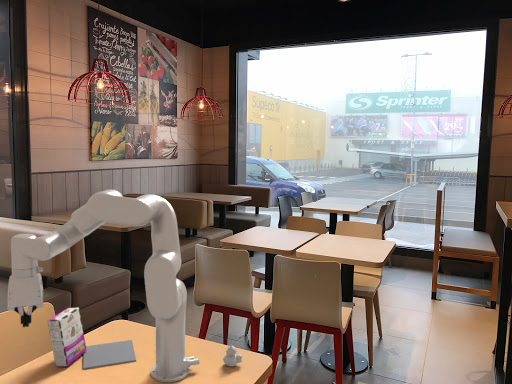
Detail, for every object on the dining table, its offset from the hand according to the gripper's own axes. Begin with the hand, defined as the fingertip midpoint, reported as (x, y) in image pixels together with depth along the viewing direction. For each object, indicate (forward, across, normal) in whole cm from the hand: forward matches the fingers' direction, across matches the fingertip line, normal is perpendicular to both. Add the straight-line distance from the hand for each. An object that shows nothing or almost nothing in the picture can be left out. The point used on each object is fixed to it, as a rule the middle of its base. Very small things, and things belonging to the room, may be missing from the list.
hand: (26, 325), depth 142 cm
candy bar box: (+14, -14, 0) cm, 20 cm away
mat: (+14, -26, 0) cm, 30 cm away
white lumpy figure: (+13, -66, +21) cm, 70 cm away
